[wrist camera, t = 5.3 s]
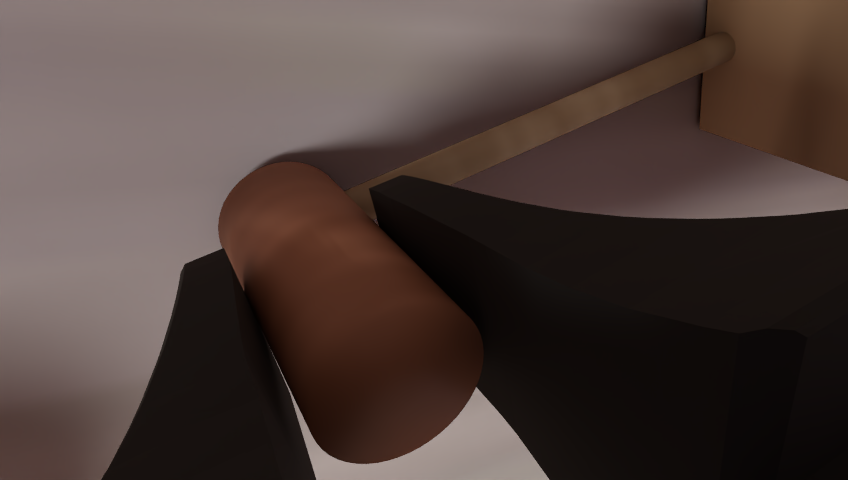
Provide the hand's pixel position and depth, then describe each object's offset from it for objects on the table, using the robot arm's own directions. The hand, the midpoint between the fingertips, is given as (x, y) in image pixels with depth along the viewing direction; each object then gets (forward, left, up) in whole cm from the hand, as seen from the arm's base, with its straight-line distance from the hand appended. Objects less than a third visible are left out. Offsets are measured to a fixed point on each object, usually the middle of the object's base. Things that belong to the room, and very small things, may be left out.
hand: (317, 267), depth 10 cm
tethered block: (-4, -6, -2) cm, 7 cm away
